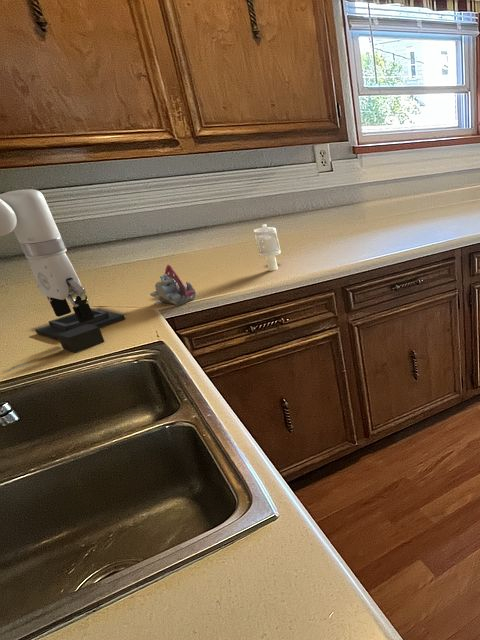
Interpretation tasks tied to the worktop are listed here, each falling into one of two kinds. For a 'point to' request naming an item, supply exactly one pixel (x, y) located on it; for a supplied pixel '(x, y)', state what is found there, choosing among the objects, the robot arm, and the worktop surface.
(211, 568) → the worktop surface
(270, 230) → the white tall piece
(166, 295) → the grey creature figurine
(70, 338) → the top pad
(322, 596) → the worktop surface
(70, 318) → the base pad
